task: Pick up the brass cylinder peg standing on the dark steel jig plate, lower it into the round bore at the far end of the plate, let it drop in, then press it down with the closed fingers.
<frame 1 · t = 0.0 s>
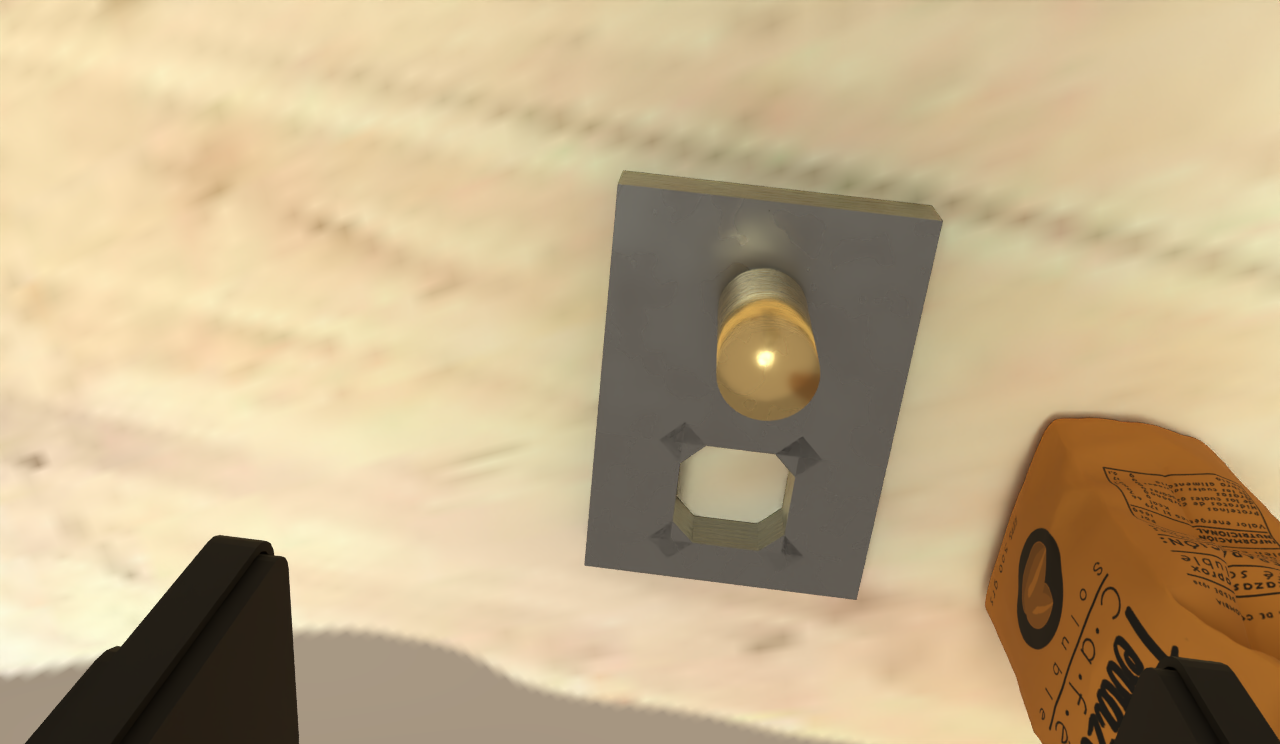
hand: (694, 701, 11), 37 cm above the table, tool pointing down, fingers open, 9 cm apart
brass cylinder peg: (762, 310, 45), point 2 cm above the table, touching jig
jig: (746, 386, 50), on the table
coffee package: (1083, 514, 52), on the table
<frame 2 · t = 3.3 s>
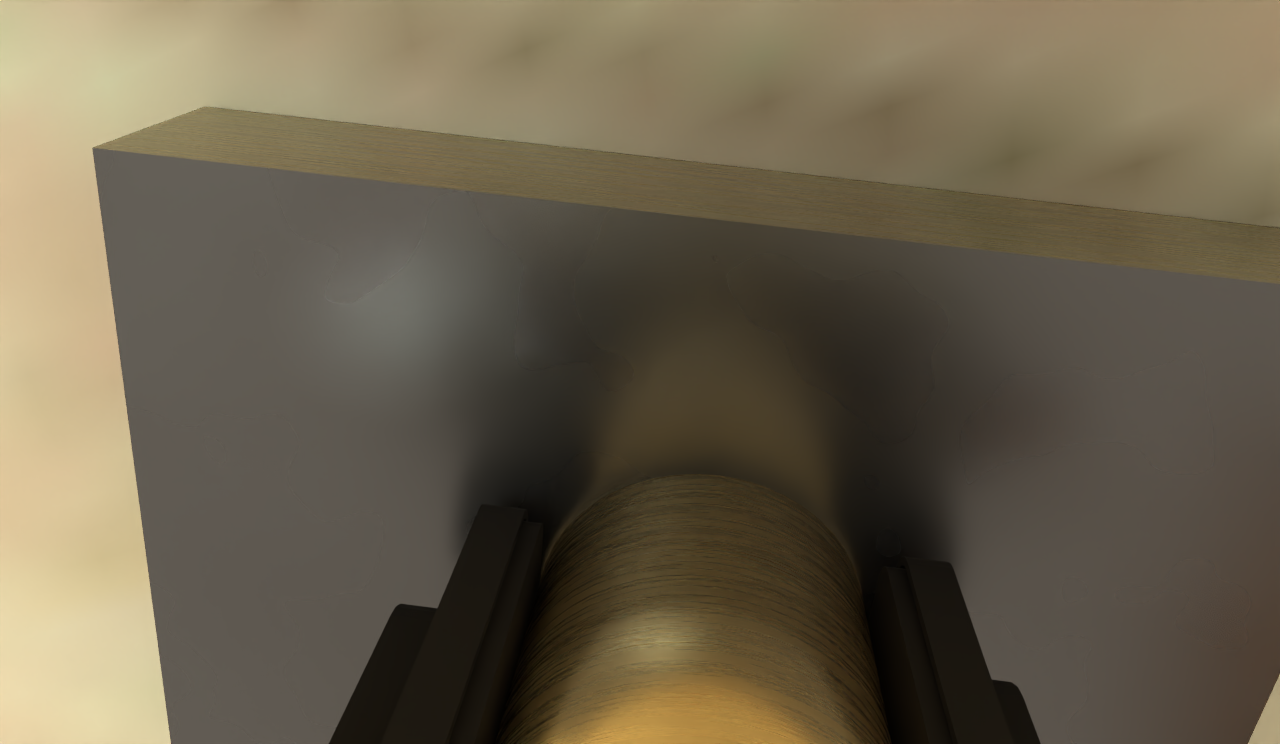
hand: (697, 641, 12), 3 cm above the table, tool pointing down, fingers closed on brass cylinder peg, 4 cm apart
brass cylinder peg: (698, 614, 12), point 2 cm above the table, touching gripper, jig
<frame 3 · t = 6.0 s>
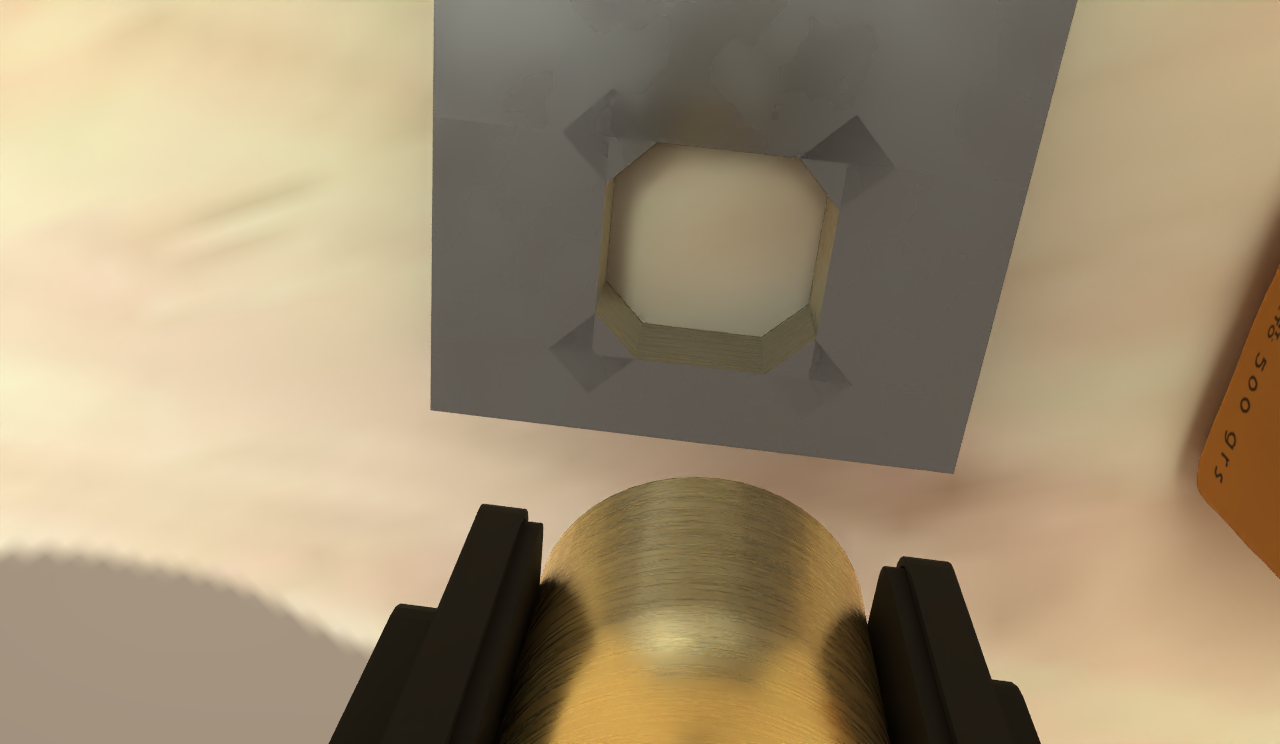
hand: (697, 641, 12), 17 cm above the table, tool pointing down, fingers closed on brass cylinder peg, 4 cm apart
brass cylinder peg: (698, 618, 12), point 16 cm above the table, touching gripper
jig: (739, 39, 25), on the table
when the fingers open (3 cm above the table, at t = 8.6 s): brass cylinder peg drops 3 cm, resting in jig.
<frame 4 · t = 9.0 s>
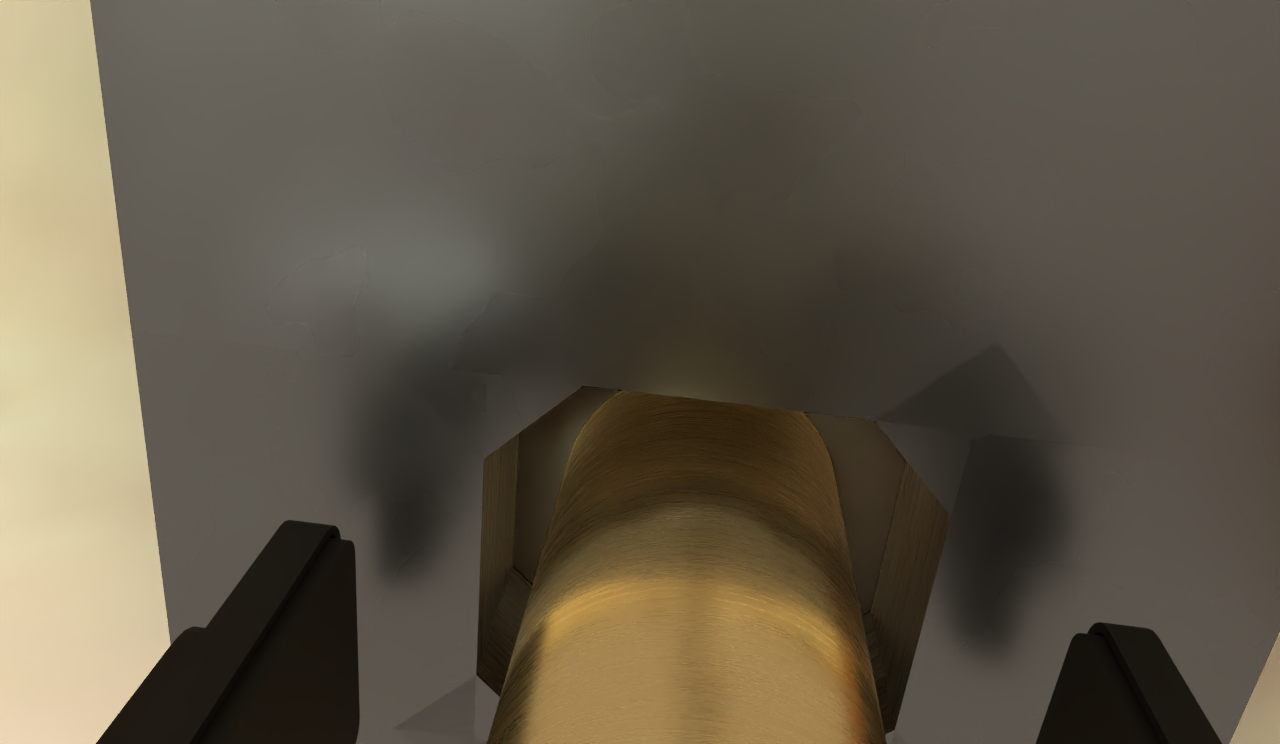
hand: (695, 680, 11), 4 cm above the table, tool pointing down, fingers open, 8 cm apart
brass cylinder peg: (699, 492, 15), resting in jig
jig: (750, 163, 13), on the table
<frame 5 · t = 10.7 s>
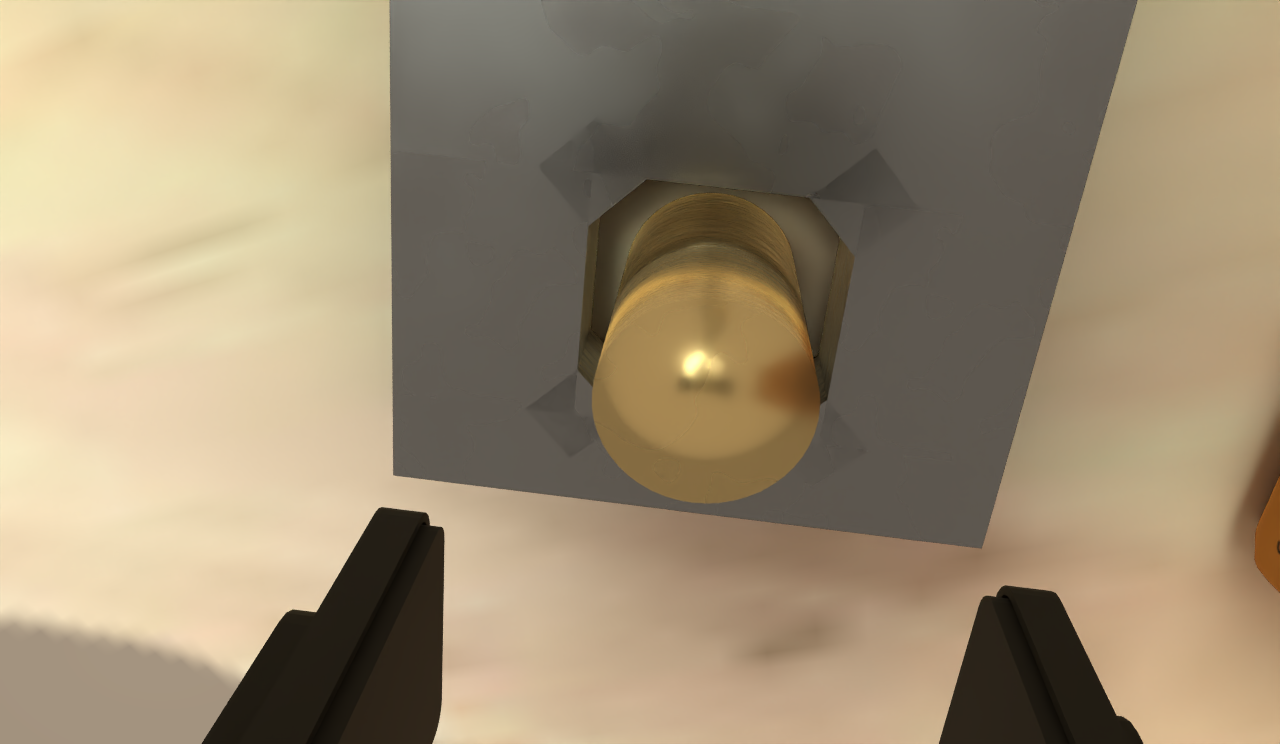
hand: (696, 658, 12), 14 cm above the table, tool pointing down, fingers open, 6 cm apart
brass cylinder peg: (709, 275, 24), resting in jig
jig: (741, 61, 22), on the table
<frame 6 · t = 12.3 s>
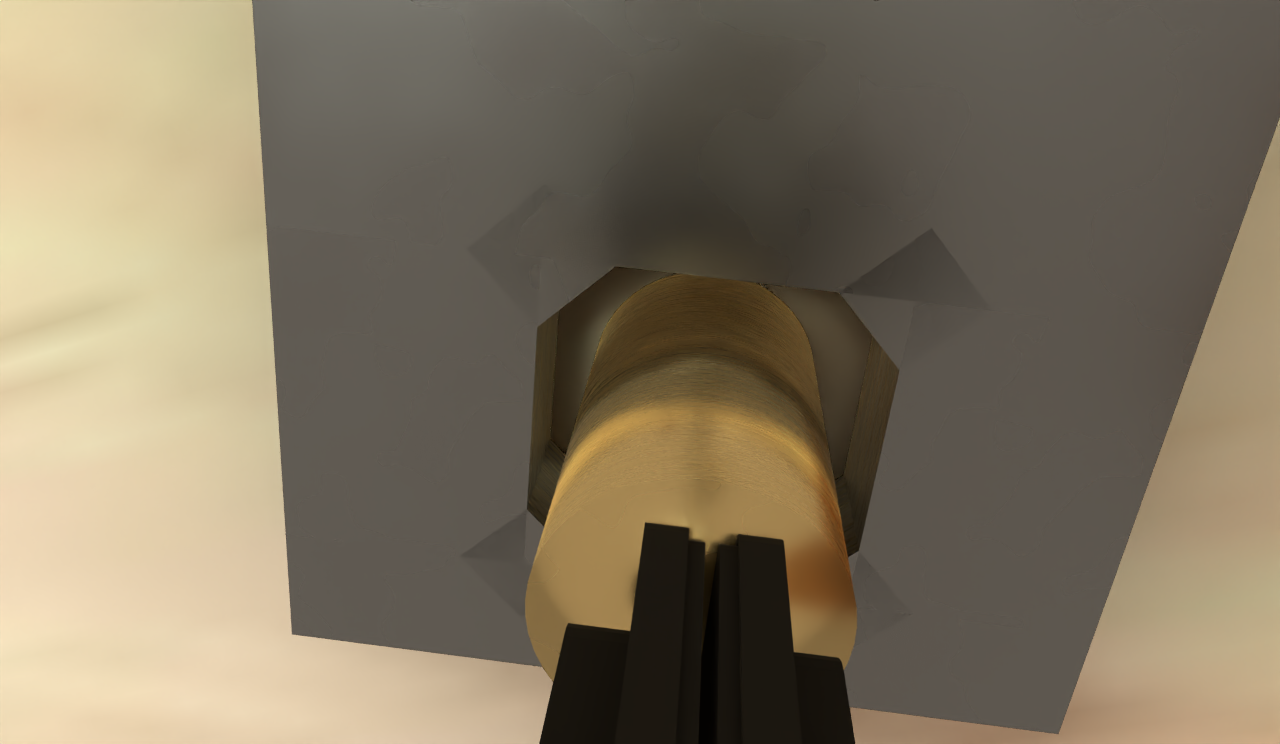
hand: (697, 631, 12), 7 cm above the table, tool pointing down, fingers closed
brass cylinder peg: (703, 374, 19), resting in jig, touching gripper
jig: (745, 100, 16), on the table
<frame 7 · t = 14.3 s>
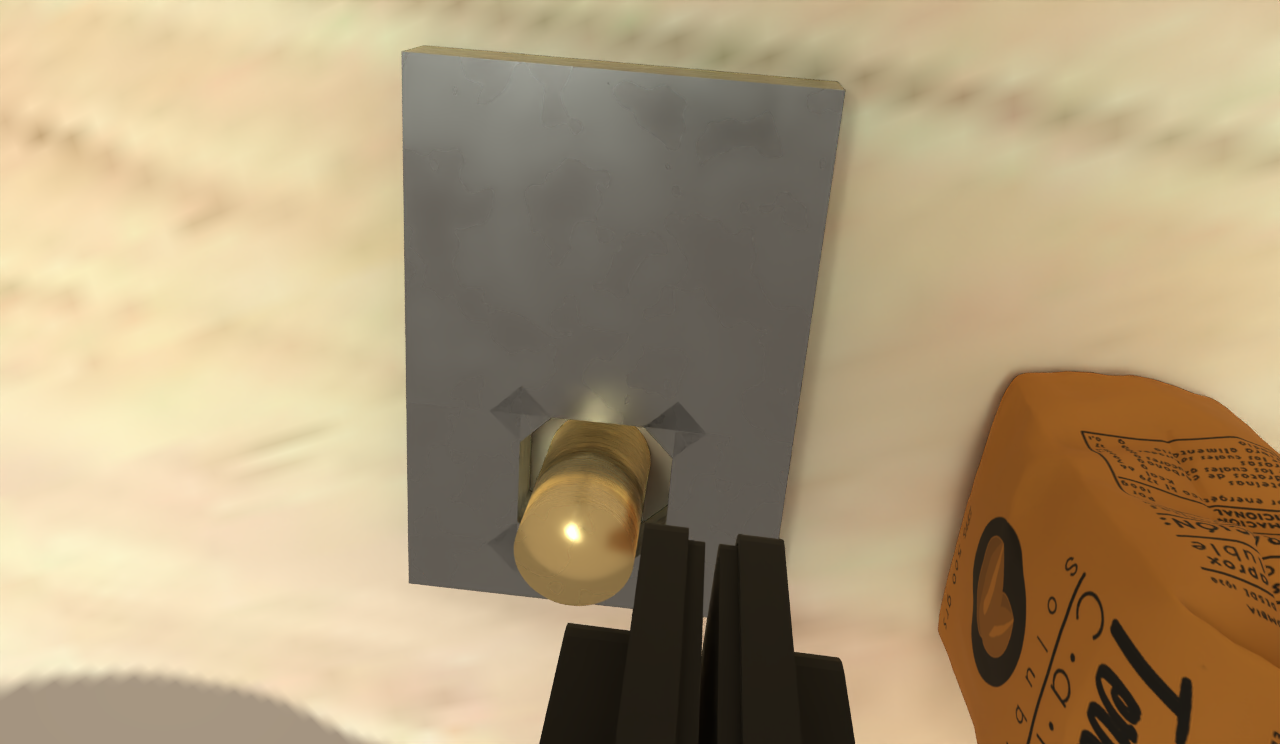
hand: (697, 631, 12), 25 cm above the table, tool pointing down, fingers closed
brass cylinder peg: (599, 458, 40), resting in jig
jig: (609, 341, 38), on the table
coffee package: (1064, 506, 39), on the table
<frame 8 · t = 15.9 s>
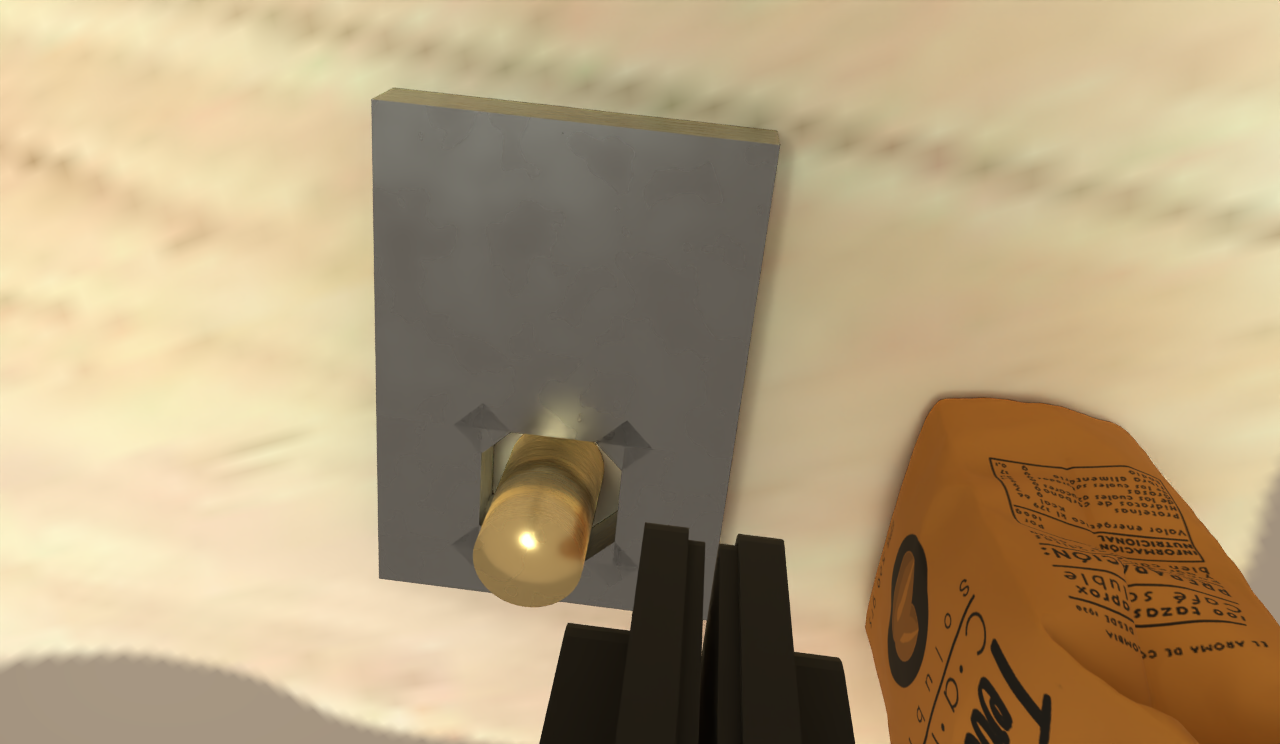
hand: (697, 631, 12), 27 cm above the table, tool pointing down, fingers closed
brass cylinder peg: (557, 465, 43), resting in jig
jig: (566, 360, 41), on the table
coffee package: (983, 517, 42), on the table
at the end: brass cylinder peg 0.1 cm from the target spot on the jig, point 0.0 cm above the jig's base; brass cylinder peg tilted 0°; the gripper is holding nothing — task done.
